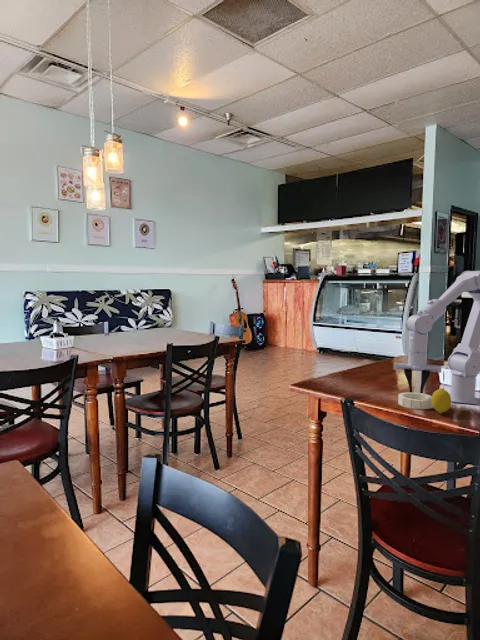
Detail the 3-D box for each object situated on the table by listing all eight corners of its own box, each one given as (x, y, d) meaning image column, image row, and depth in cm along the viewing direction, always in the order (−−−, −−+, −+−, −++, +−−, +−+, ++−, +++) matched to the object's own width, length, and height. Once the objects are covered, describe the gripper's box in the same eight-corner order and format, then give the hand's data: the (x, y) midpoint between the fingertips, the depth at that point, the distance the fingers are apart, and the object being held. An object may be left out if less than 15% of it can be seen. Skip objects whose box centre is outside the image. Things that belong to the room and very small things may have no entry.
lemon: (426, 412, 138) (427, 387, 138) (439, 410, 141) (440, 385, 140) (441, 417, 133) (442, 391, 133) (454, 415, 135) (455, 389, 135)
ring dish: (398, 399, 154) (398, 391, 154) (432, 402, 150) (432, 394, 150) (397, 407, 144) (398, 398, 143) (434, 410, 140) (435, 402, 140)
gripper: (394, 352, 144) (392, 393, 145) (442, 354, 139) (441, 397, 140) (394, 349, 151) (393, 388, 152) (441, 351, 146) (439, 392, 147)
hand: (416, 392), depth 146 cm, fingers open, 3 cm apart
